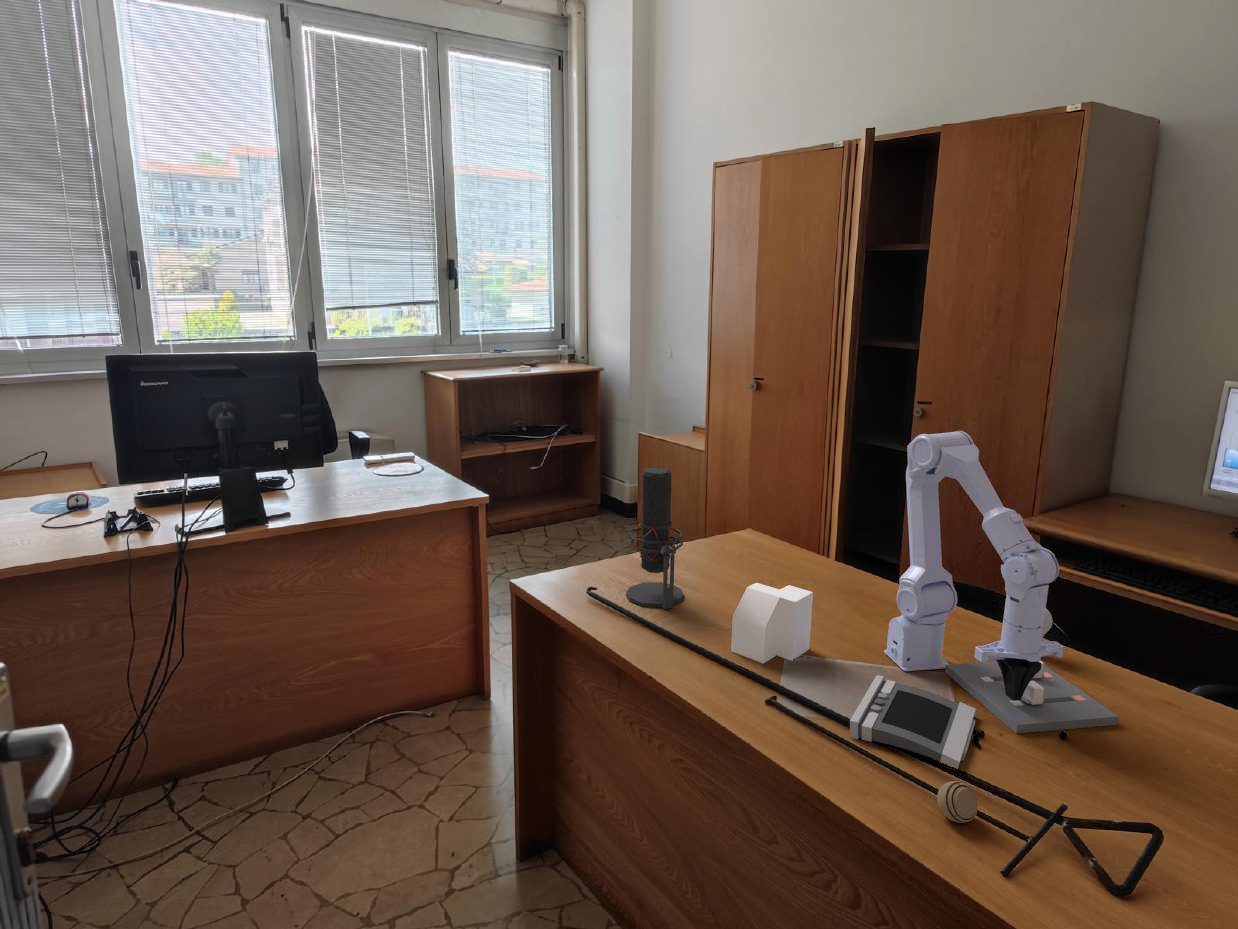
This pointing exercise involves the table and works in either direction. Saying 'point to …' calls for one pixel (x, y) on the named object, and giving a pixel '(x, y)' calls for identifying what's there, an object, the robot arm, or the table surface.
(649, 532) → the microphone
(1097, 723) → the panel
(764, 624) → the white chamfered block
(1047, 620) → the light bulb
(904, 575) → the robot arm
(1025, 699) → the breaker
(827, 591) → the table surface
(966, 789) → the door knob
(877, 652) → the table surface
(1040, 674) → the breaker on
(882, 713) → the alarm clock
